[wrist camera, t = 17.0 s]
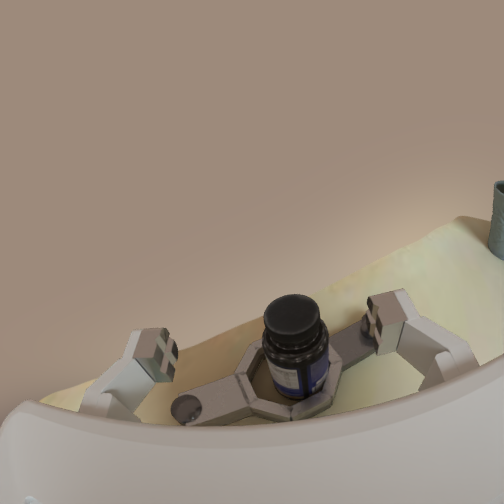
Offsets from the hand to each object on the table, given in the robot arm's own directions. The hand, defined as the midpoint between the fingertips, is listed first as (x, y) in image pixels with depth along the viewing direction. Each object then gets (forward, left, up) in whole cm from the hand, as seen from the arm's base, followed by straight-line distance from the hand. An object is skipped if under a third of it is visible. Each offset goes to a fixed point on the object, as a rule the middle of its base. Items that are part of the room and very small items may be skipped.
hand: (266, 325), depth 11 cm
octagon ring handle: (-4, -8, -20) cm, 22 cm away
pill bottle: (-5, -7, -20) cm, 22 cm away
